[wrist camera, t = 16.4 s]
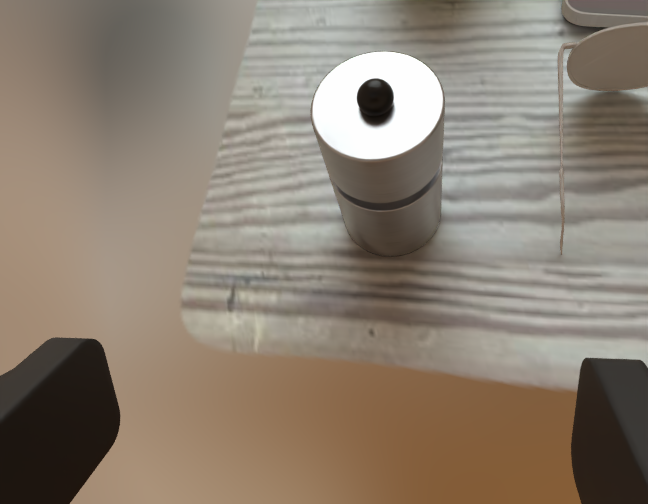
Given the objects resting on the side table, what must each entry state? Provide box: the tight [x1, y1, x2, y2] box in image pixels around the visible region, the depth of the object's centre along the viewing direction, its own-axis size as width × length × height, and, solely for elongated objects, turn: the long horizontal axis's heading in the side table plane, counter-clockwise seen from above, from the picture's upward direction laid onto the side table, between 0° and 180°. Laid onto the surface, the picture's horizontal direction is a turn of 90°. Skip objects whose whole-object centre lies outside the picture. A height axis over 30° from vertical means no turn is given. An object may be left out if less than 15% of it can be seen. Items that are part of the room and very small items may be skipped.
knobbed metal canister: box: [311, 51, 445, 256], centre depth 21 cm, size 4×4×9 cm
